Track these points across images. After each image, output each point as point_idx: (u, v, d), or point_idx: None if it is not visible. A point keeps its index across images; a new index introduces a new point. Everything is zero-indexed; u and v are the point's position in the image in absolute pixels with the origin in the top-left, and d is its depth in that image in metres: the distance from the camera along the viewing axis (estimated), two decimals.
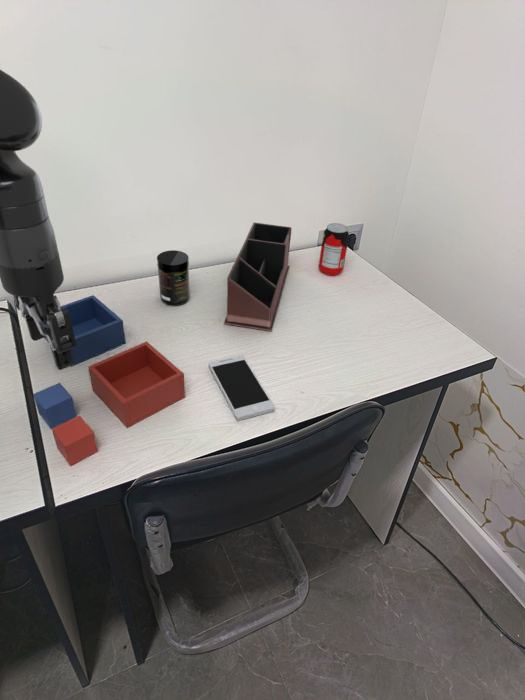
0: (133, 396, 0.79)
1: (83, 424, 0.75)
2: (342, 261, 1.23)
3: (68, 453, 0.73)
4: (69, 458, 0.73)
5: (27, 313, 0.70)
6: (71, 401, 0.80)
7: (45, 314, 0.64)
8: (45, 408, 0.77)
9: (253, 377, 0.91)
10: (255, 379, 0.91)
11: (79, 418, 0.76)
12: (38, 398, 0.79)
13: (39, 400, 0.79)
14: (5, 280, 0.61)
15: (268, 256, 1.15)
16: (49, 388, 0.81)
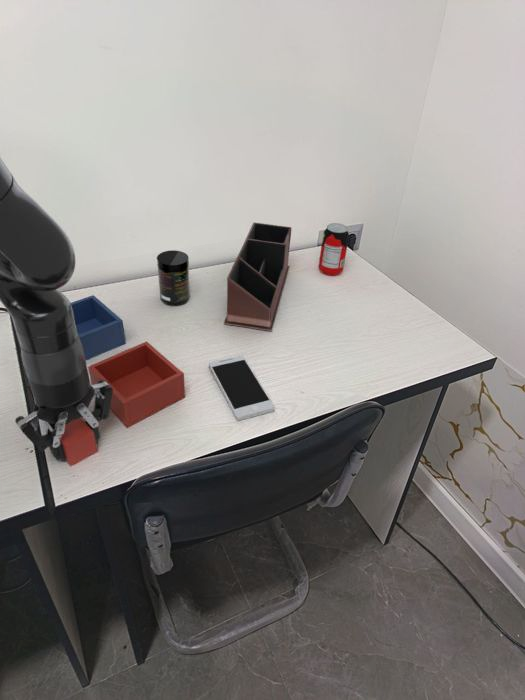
0: (133, 396, 0.79)
1: (83, 424, 0.75)
2: (342, 261, 1.23)
3: (68, 453, 0.73)
4: (69, 458, 0.73)
5: None
6: None
7: (94, 393, 0.72)
8: None
9: (253, 377, 0.91)
10: (255, 379, 0.91)
11: (79, 418, 0.76)
12: None
13: None
14: (79, 389, 0.66)
15: (268, 256, 1.15)
16: None
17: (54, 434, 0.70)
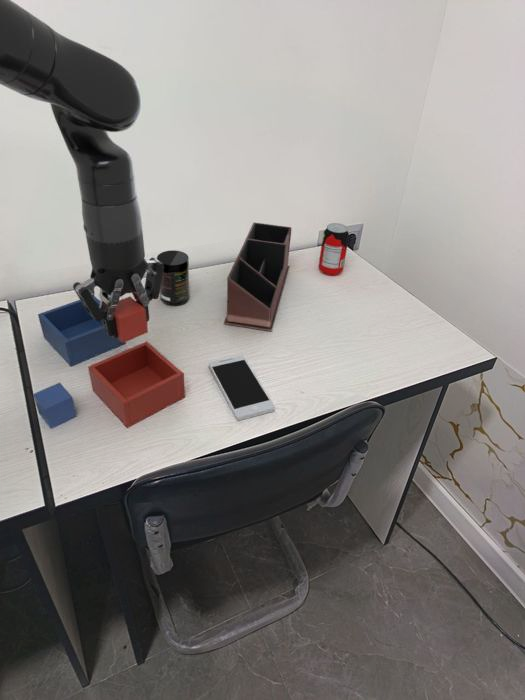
0: (133, 396, 0.79)
1: (134, 303, 0.76)
2: (342, 261, 1.23)
3: (121, 327, 0.74)
4: (122, 333, 0.74)
5: None
6: (71, 401, 0.80)
7: (147, 268, 0.73)
8: (45, 408, 0.77)
9: (253, 377, 0.91)
10: (255, 379, 0.91)
11: (130, 298, 0.77)
12: (38, 398, 0.79)
13: (39, 400, 0.79)
14: (136, 252, 0.67)
15: (268, 256, 1.15)
16: (49, 388, 0.81)
17: (109, 304, 0.71)
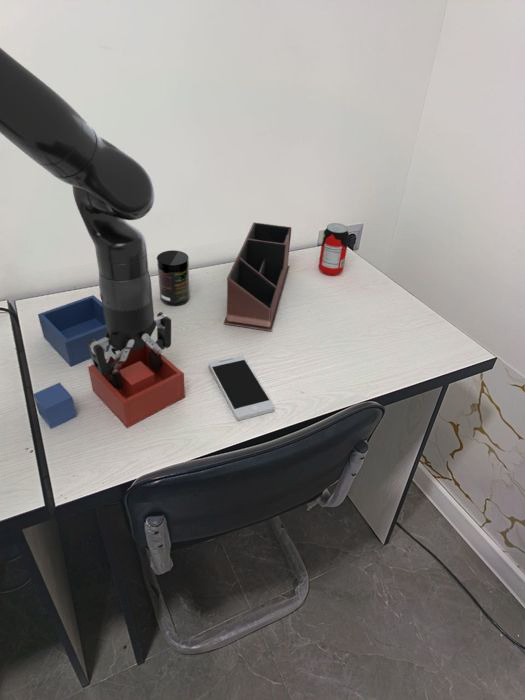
0: (133, 396, 0.79)
1: (144, 367, 0.85)
2: (342, 261, 1.23)
3: (133, 391, 0.83)
4: None
5: None
6: (71, 401, 0.80)
7: (155, 326, 0.81)
8: (45, 408, 0.77)
9: (253, 377, 0.91)
10: (255, 379, 0.91)
11: (140, 363, 0.86)
12: (38, 398, 0.79)
13: (39, 400, 0.79)
14: (147, 317, 0.75)
15: (268, 256, 1.15)
16: (49, 388, 0.81)
17: (117, 360, 0.78)
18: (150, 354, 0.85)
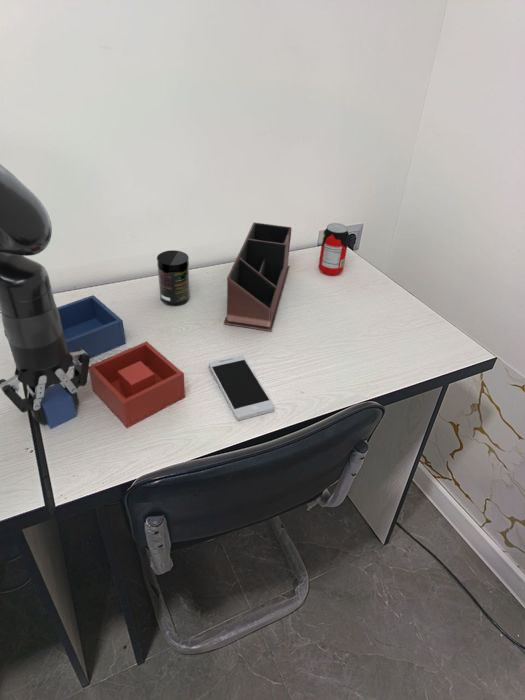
0: (133, 396, 0.79)
1: (144, 367, 0.85)
2: (342, 261, 1.23)
3: (133, 391, 0.83)
4: None
5: None
6: (71, 401, 0.80)
7: (72, 360, 0.78)
8: (45, 408, 0.77)
9: (253, 377, 0.91)
10: (255, 379, 0.91)
11: (140, 363, 0.86)
12: None
13: None
14: (56, 353, 0.72)
15: (268, 256, 1.15)
16: (49, 388, 0.81)
17: (34, 397, 0.76)
18: None
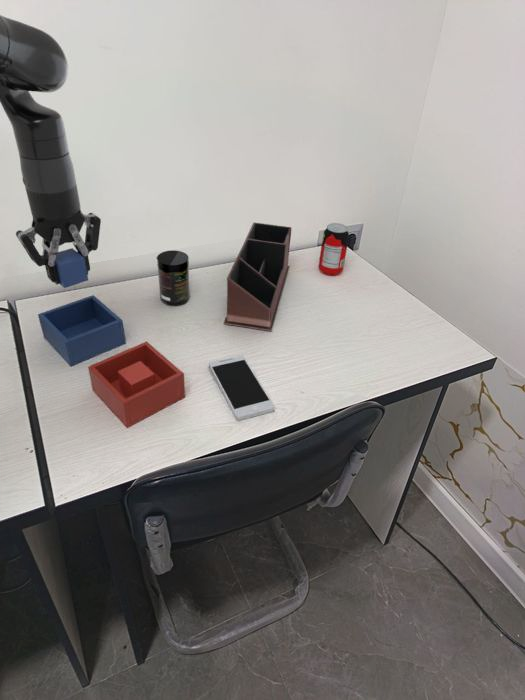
0: (133, 396, 0.79)
1: (144, 367, 0.85)
2: (342, 261, 1.23)
3: (133, 391, 0.83)
4: None
5: None
6: (83, 262, 0.85)
7: (84, 220, 0.83)
8: (59, 264, 0.83)
9: (253, 377, 0.91)
10: (255, 379, 0.91)
11: (140, 363, 0.86)
12: None
13: None
14: (70, 203, 0.77)
15: (268, 256, 1.15)
16: (62, 251, 0.86)
17: (49, 251, 0.81)
18: None
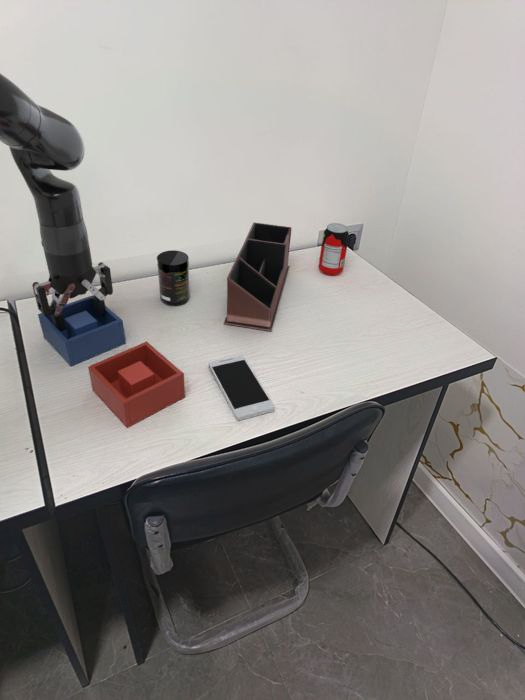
0: (133, 396, 0.79)
1: (144, 367, 0.85)
2: (342, 261, 1.23)
3: (133, 391, 0.83)
4: None
5: None
6: (96, 325, 0.96)
7: None
8: (75, 328, 0.93)
9: (253, 377, 0.91)
10: (255, 379, 0.91)
11: (140, 363, 0.86)
12: (68, 321, 0.95)
13: (69, 323, 0.94)
14: (83, 262, 0.86)
15: (268, 256, 1.15)
16: (77, 314, 0.97)
17: (59, 302, 0.89)
18: (94, 300, 0.96)
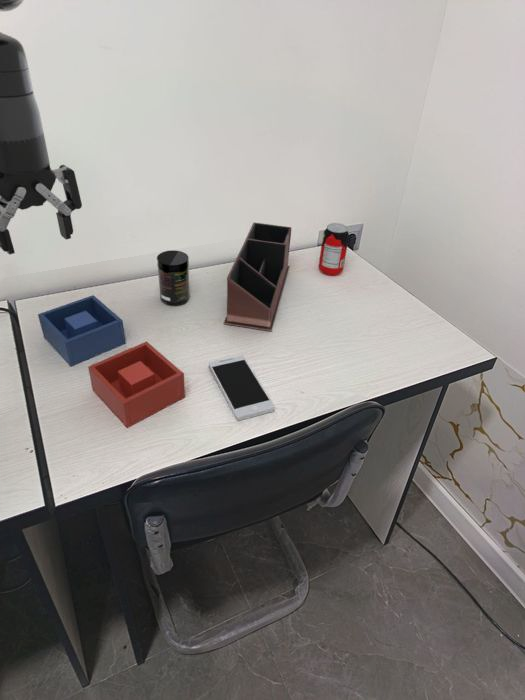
0: (133, 396, 0.79)
1: (144, 367, 0.85)
2: (342, 261, 1.23)
3: (133, 391, 0.83)
4: None
5: None
6: (96, 325, 0.96)
7: (55, 180, 0.70)
8: (75, 328, 0.93)
9: (253, 377, 0.91)
10: (255, 379, 0.91)
11: (140, 363, 0.86)
12: (68, 321, 0.95)
13: (69, 323, 0.94)
14: (35, 155, 0.64)
15: (268, 256, 1.15)
16: (77, 314, 0.97)
17: (4, 212, 0.67)
18: (58, 217, 0.75)
